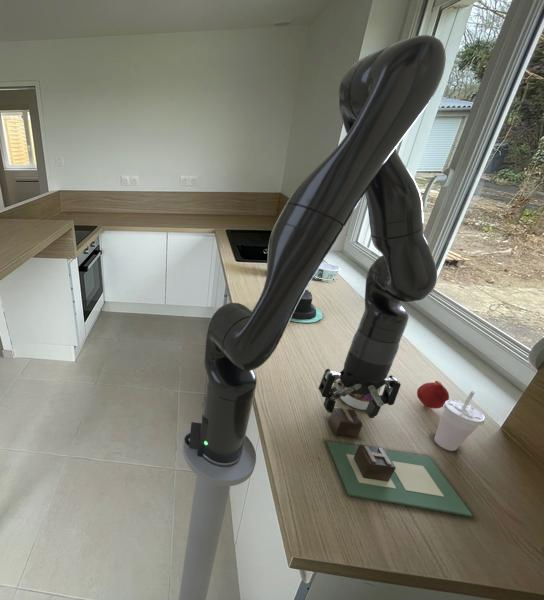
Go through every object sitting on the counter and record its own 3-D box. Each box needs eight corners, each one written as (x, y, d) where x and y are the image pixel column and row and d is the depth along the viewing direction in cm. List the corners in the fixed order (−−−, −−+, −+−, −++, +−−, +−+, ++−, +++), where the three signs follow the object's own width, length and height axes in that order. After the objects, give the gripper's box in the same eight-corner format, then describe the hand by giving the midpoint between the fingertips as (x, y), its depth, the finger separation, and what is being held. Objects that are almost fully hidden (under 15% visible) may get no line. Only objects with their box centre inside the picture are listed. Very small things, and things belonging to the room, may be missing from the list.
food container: (318, 272, 171) (321, 261, 168) (341, 280, 162) (345, 267, 159) (305, 277, 165) (308, 264, 162) (328, 284, 156) (332, 271, 153)
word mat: (348, 495, 59) (349, 493, 59) (326, 442, 70) (327, 440, 69) (471, 517, 56) (472, 514, 56) (428, 458, 67) (430, 456, 67)
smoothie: (454, 436, 72) (484, 387, 66) (471, 459, 67) (505, 408, 61) (421, 429, 74) (447, 380, 68) (434, 451, 68) (464, 400, 63)
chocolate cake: (256, 300, 134) (294, 296, 141) (278, 338, 124) (318, 332, 130) (275, 277, 123) (315, 273, 129) (301, 317, 112) (343, 311, 119)
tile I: (335, 434, 72) (340, 420, 70) (328, 419, 76) (333, 405, 74) (357, 438, 71) (363, 423, 69) (349, 422, 75) (354, 408, 73)
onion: (434, 401, 82) (447, 376, 79) (446, 417, 77) (461, 392, 74) (408, 396, 84) (420, 372, 81) (418, 412, 79) (431, 386, 76)
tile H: (363, 478, 62) (370, 462, 60) (353, 458, 66) (359, 443, 64) (388, 482, 61) (396, 466, 59) (377, 461, 65) (384, 446, 63)
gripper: (399, 346, 67) (375, 405, 74) (327, 339, 69) (309, 397, 76) (421, 367, 61) (392, 430, 68) (340, 359, 63) (320, 421, 70)
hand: (348, 412), depth 72 cm, fingers open, 8 cm apart
